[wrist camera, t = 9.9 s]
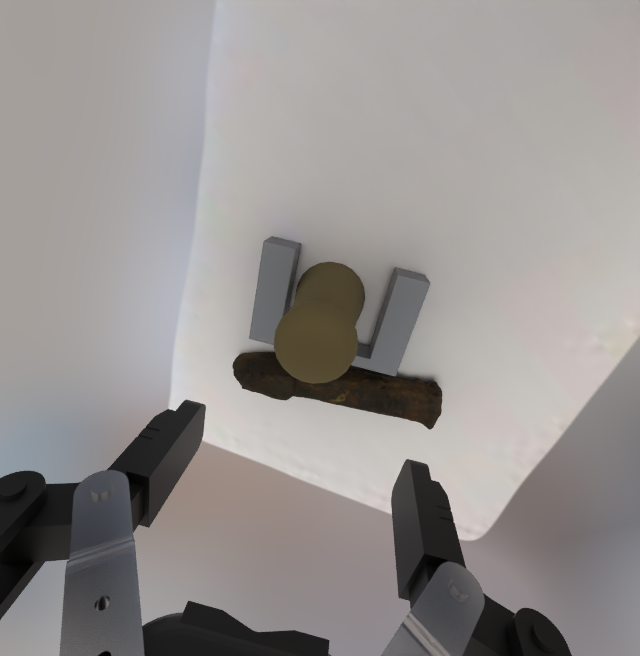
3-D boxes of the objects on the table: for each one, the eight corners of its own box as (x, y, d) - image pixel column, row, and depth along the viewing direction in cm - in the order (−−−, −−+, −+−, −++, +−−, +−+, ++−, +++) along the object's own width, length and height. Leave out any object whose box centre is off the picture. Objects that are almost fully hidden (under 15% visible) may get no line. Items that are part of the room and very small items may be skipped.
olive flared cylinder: (308, 334, 31) (281, 407, 21) (286, 273, 29) (244, 321, 19) (372, 319, 30) (376, 388, 20) (354, 253, 28) (347, 293, 18)
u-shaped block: (272, 236, 28) (263, 241, 26) (425, 275, 28) (430, 283, 25) (257, 327, 31) (249, 338, 29) (393, 362, 31) (395, 376, 29)
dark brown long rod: (440, 375, 31) (451, 406, 27) (426, 409, 33) (434, 443, 29) (244, 327, 32) (225, 350, 28) (240, 363, 34) (221, 389, 29)
